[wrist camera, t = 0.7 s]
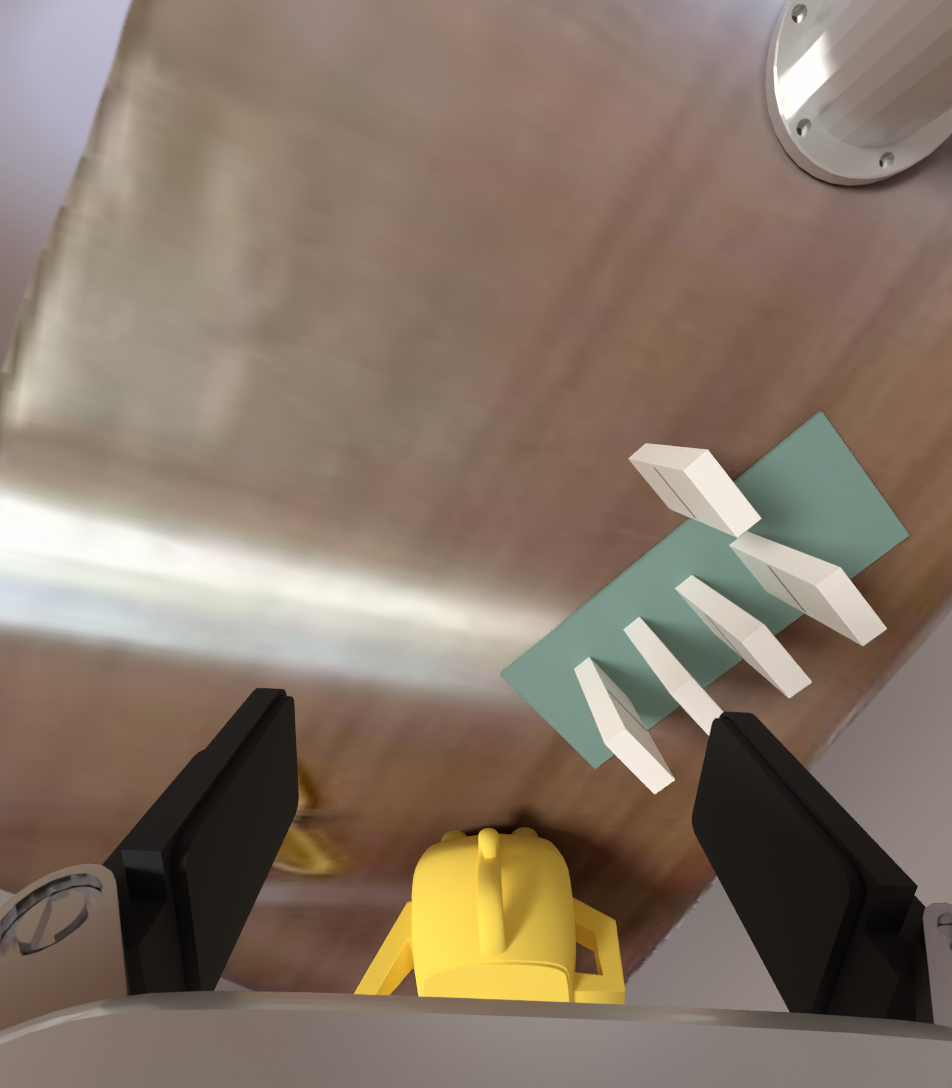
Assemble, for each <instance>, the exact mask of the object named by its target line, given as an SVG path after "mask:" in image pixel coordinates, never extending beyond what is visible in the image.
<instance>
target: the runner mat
mask: <svg viewBox="0 0 952 1088" xmlns="http://www.w3.org/2000/svg"><path fill="white" fill-rule="evenodd" d="M733 483H734V484H735V485H736V486H737V488H738V489H739V490H740V492H741V493H742V494H743V495H744V497H745V498H746V499H747V500H748V502H749V503H750V504H751V506H752V507H753V508H754V509H755V511H756V512H757V513H758V515H759V516H760V517H761V518H762V519H760V520H759V521H758V522H757V523H755V524H754V525H753V526H752V527H750V528H749V529H748V530H747V531H748V532H750V533H753V534H756V535H758V536H761V537H763V538H766V539H769V540H771V541H774V542H776V543H779V544H782V545H784V546H787V547H789V548H792V549H795V550H797V551H800V552H802V553H805V554H807V555H810V556H813V557H815V558H818V559H820V560H823V561H826V562H828V563H831V564H833V565H836V566H839V567H841V569H842V570H843V571H844V572H845V574H846V575H847V576H848V578H849V579H852V578H853V577H854V576H856V575H857V574H858V573H860V572H861V571H862V570H864V569H865V568H867V567H868V566H869V565H871V564H872V563H873V562H875V561H876V560H877V559H879V558H880V557H881V556H883V555H884V554H885V553H887V552H888V551H889V550H891V549H892V548H893V547H895V546H896V545H897V544H899V543H900V542H902V541H903V540H904V539H906V538H907V537H908V536H910V535H909V534H908V532H907V531H906V529H905V528H904V527H903V525H902V524H901V522H900V521H899V520H898V518H897V517H896V515H895V514H894V512H893V511H892V510H891V508H890V507H889V505H888V504H887V503H886V501H885V500H884V498H883V497H882V495H881V494H880V493H879V491H878V490H877V488H876V487H875V486H874V484H873V483H872V481H871V480H870V479H869V477H868V476H867V474H866V473H865V471H864V470H863V469H862V467H861V466H860V464H859V463H858V462H857V460H856V459H855V457H854V456H853V454H852V453H851V452H850V450H849V449H848V447H847V446H846V445H845V443H844V442H843V440H842V439H841V437H840V436H839V435H838V433H837V432H836V430H835V429H834V428H833V426H832V425H831V423H830V422H829V421H828V419H827V418H826V416H825V415H824V413H823V412H818V413H816V414H815V415H814V416H813V417H811V418H810V419H809V420H808V421H807V422H805V423H804V424H803V425H802V426H801V427H799V428H798V429H797V430H796V431H794V432H793V433H792V434H791V435H790V436H788V437H787V438H786V439H785V440H784V441H782V442H781V443H780V444H779V445H777V446H776V447H775V448H774V449H773V450H771V451H770V452H769V453H768V454H767V455H765V456H764V457H763V458H762V459H760V460H759V461H758V462H757V463H756V464H754V465H753V466H752V467H751V468H750V469H748V470H747V471H746V472H745V473H743V474H742V475H741V476H740V477H739V478H737V479H736V480H735V481H734V482H733ZM745 532H746V531H745ZM745 532H744V533H745ZM744 533H743V534H744ZM743 534H742V535H743ZM740 536H741V535H740ZM740 536H739V537H740ZM739 537H738V538H739ZM738 538H736V537H734V536H732V535H729V534H727V533H725V532H722V531H720V530H718V529H715V528H713V527H711V526H708V525H706V524H704V523H701V522H699V521H697V520H694V519H692V518H689V519H688V520H686V521H685V522H684V523H683V524H681V525H680V526H679V527H678V528H677V529H675V530H674V531H673V532H672V533H671V534H669V535H668V536H667V537H666V538H664V539H663V540H662V541H661V542H660V543H658V544H657V545H656V546H655V547H654V548H652V549H651V550H650V551H649V552H647V553H646V554H645V555H644V556H643V557H641V558H640V559H639V560H638V561H637V562H635V563H634V564H633V565H632V566H630V567H629V568H628V569H627V570H626V571H624V572H623V573H622V574H621V575H620V576H618V577H617V578H616V579H615V580H613V581H612V582H611V583H610V584H609V585H607V586H606V587H605V588H604V589H603V590H601V591H600V592H599V593H598V594H596V595H595V596H594V597H593V598H592V599H590V600H589V601H588V602H587V603H585V604H584V605H583V606H582V607H581V608H579V609H578V610H577V611H576V612H575V613H573V614H572V615H571V616H570V617H568V618H567V619H566V620H565V621H564V622H562V623H561V624H560V625H559V626H558V627H556V628H555V629H554V630H553V631H551V632H550V633H549V634H548V635H547V636H545V637H544V638H543V639H542V640H541V641H539V642H538V643H537V644H536V645H534V646H533V647H532V648H531V649H530V650H528V651H527V652H526V653H525V654H524V655H522V656H521V657H520V658H519V659H517V660H516V661H515V662H514V663H513V664H511V665H510V666H509V667H508V668H507V669H505V670H504V671H503V672H502V673H501V677H502V678H503V679H504V680H505V681H506V682H507V683H508V684H509V685H510V686H511V687H512V688H514V689H515V690H516V691H517V692H518V693H519V694H520V695H521V696H522V697H523V698H524V699H525V700H526V701H527V702H528V703H529V704H530V705H531V706H532V707H533V708H534V709H535V710H536V711H537V712H538V713H539V714H540V715H541V716H542V717H543V718H544V719H545V720H546V721H547V722H548V723H549V724H550V725H551V726H552V727H553V728H554V729H555V730H556V731H557V732H558V733H559V734H560V735H561V736H562V737H563V738H564V739H565V740H566V741H567V742H568V743H569V744H570V745H571V746H572V747H573V748H574V749H575V750H577V751H578V752H579V753H580V754H581V755H582V756H583V757H584V758H585V759H586V760H587V761H588V762H589V763H590V764H591V765H592V766H593V767H594V768H595V769H596V768H597V767H599V766H600V765H601V764H603V763H604V762H605V761H607V760H608V759H609V758H611V757H612V756H613V755H615V754H614V753H613V752H612V751H611V750H610V749H609V748H608V747H607V746H606V745H605V743H604V741H603V739H602V736H601V734H600V731H599V729H598V726H597V724H596V722H595V719H594V717H593V714H592V712H591V709H590V707H589V704H588V702H587V700H586V697H585V695H584V692H583V690H582V687H581V685H580V683H579V680H578V678H577V675H576V673H575V670H574V668H576V667H577V666H578V665H579V664H581V663H582V662H583V661H584V660H586V659H587V658H588V657H590V658H591V659H592V660H593V661H594V662H595V663H596V664H597V665H598V666H599V667H600V668H601V669H602V670H603V671H604V672H605V673H606V674H607V676H608V677H609V678H610V679H611V680H612V681H613V682H614V683H615V684H616V685H617V686H618V687H619V688H620V689H621V690H622V691H623V692H624V693H625V694H626V696H627V697H628V698H629V699H630V701H631V703H632V705H633V706H634V708H635V710H636V712H637V714H638V715H639V717H640V719H641V721H642V722H643V724H644V726H645V728H646V729H647V730H648V729H650V728H651V727H652V726H654V725H655V724H657V723H658V722H659V721H661V720H662V719H663V718H665V717H666V716H667V715H669V714H670V713H671V712H673V711H674V710H675V709H677V708H678V707H679V706H681V705H680V704H679V703H678V702H677V701H676V700H675V699H674V698H673V697H672V695H671V694H670V693H669V692H668V690H667V689H666V687H665V686H664V685H663V683H662V682H661V681H660V679H659V678H658V676H657V675H656V674H655V672H654V671H653V670H652V668H651V667H650V666H649V664H648V663H647V661H646V660H645V659H644V657H643V656H642V655H641V653H640V652H639V651H638V649H637V648H636V646H635V645H634V644H633V642H632V641H631V640H630V638H629V637H628V635H627V634H626V633H625V631H624V630H623V629H625V628H626V627H627V626H628V625H630V624H631V623H632V622H633V621H635V620H636V619H637V618H638V617H640V618H641V619H642V620H643V621H644V622H645V623H646V624H647V626H648V627H649V628H650V629H651V630H652V631H653V632H654V633H655V634H656V636H657V637H658V638H659V639H660V640H661V641H662V642H663V643H664V644H665V646H666V647H667V648H668V649H669V650H670V651H671V652H672V653H673V655H674V656H675V657H676V658H677V659H678V660H679V661H680V662H681V664H682V665H683V666H684V667H685V668H686V669H687V670H688V671H689V673H690V674H691V675H692V676H693V677H694V678H695V679H696V680H697V681H698V683H699V684H700V685H701V686H702V687H703V688H705V687H706V686H708V685H709V684H710V683H712V682H713V681H714V680H716V679H717V678H718V677H720V676H721V675H722V674H724V673H725V672H727V671H728V670H729V669H731V668H732V667H733V666H735V665H736V664H737V663H739V662H740V661H741V660H743V658H742V657H741V656H739V655H738V654H737V653H736V652H735V651H734V650H732V649H731V648H730V647H729V646H728V645H727V644H726V643H724V642H723V641H722V640H721V639H720V638H719V637H717V636H716V635H715V634H714V633H713V632H712V631H711V630H710V629H709V627H708V626H707V625H706V624H705V623H704V622H703V620H702V619H701V618H700V617H699V616H698V615H697V614H696V612H695V611H694V610H693V609H692V608H691V607H690V605H689V604H688V603H687V602H686V601H685V600H684V599H683V597H682V596H681V595H680V594H679V593H678V592H677V590H676V589H675V588H676V587H677V586H679V585H680V584H681V583H682V582H684V581H685V580H686V579H687V578H689V577H690V576H691V575H693V576H694V577H696V578H697V579H699V580H700V581H702V582H703V583H704V584H706V585H707V586H709V587H710V588H712V589H713V590H715V591H716V592H718V593H719V594H721V595H722V596H723V597H725V598H726V599H728V600H729V601H731V602H732V603H734V604H735V605H737V606H738V607H740V608H741V609H742V610H744V611H745V612H747V613H748V614H750V615H751V616H753V617H754V618H756V619H757V620H759V621H760V622H761V623H763V624H764V625H765V626H766V627H767V628H768V630H769V631H770V632H771V633H772V634H773V636H775V635H776V634H778V633H779V632H780V631H782V630H783V629H784V628H786V627H787V626H788V625H790V624H791V623H792V622H794V621H795V620H797V619H798V618H799V617H801V616H802V615H803V614H805V613H803V612H801V611H800V610H798V609H796V608H794V607H793V606H791V605H789V604H787V603H786V602H784V601H782V600H780V599H779V598H777V597H775V596H773V595H771V594H770V593H768V592H766V590H765V589H764V588H763V587H762V585H761V584H760V583H759V582H758V580H757V579H756V578H755V577H754V576H753V574H752V573H751V572H750V571H749V569H748V568H747V567H746V566H745V564H744V563H743V562H742V561H741V560H740V558H739V557H738V556H737V555H736V553H735V552H734V551H733V550H732V548H731V547H730V546H729V545H730V544H731V543H732V542H734V541H735V540H736V539H738Z"/></svg>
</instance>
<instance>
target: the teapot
mask: <svg viewBox="0 0 952 1088" xmlns="http://www.w3.org/2000/svg"><path fill="white" fill-rule="evenodd" d="M576 942H578V943H579V944H581V945H583V946H585V947H587V948H589V949H591V950H592V951H594V954H595V959H596V965H597V970H598V975H595V974H586V973H577V972H575V966H576ZM411 969H415V976H416V982H417V989H418V996H423V997H451V998H477V999H502V1000H527V1001H551V1002H575V1003H598V1004H622V1005H624V1000H625V986H624V979H623V971H622V964H621V957H620V949H619V942H618V934H617V927H616V920H614V919H612V918H610V917H608V916H607V915H605V914H603V913H601V912H599V911H597V910H595V909H594V908H592V907H590V906H588V905H586V904H584V903H582V902H581V901H579V900H577V899H575V898H573V897H572V890H571V883H570V877H569V872H568V867H567V865H566V863H565V860H564V858H563V856H562V855H561V853H560V852H559V850H558V849H557V848H556V847H555V845H554V844H553V843H552V842H550V841H548V840H546V839H543V838H540V837H538V835H537V833H536V832H535V831H534V830H533V829H531V828H528V827H521V828H518V829H516V830H514V831H513V832H512V834H498V832H497V831H496V830H494V829H492V828H485V829H483V830H481V831H480V832H479V835H474V836H467V835H466V834H465V833H463V832H461V831H456V830H454V831H449V832H447V833H446V834H444V835H443V837H442V839H441V842H438V843H436V844H433V845H432V846H430V847H429V848H428V849H427V850H426V851H425V853H424V854H423V855H422V857H421V858H420V860H419V862H418V864H417V866H416V869H415V873H414V877H413V886H412V901H409V902H407V904H406V905H405V907H404V909H403V910H402V912H401V914H400V916H399V917H398V919H397V921H396V922H395V924H394V926H393V928H392V929H391V931H390V933H389V934H388V936H387V938H386V940H385V941H384V943H383V945H382V946H381V948H380V950H379V952H378V953H377V955H376V957H375V958H374V960H373V962H372V964H371V965H370V967H369V969H368V970H367V972H366V974H365V976H364V977H363V979H362V981H361V982H360V984H359V986H358V988H357V989H356V991H355V993H354V994H365V995H390V994H391V993H392V992H393V991H394V989H395V988H396V987H397V986H398V985H399V984H400V982H401V981H402V980H403V979H404V978H405V977H406V975H407V974H408V973H409V972H410V971H411Z"/></svg>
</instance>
